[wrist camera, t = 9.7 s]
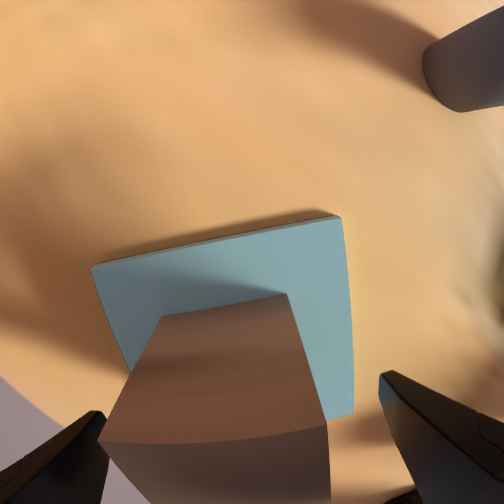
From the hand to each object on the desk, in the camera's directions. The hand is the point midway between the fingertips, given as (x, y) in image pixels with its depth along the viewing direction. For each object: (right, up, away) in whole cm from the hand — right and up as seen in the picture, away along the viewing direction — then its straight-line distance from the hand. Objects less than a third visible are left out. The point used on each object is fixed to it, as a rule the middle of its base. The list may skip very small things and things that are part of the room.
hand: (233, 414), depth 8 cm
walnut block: (0, +1, +3) cm, 3 cm away
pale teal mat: (0, +1, +3) cm, 4 cm away
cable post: (+9, +12, +1) cm, 15 cm away
